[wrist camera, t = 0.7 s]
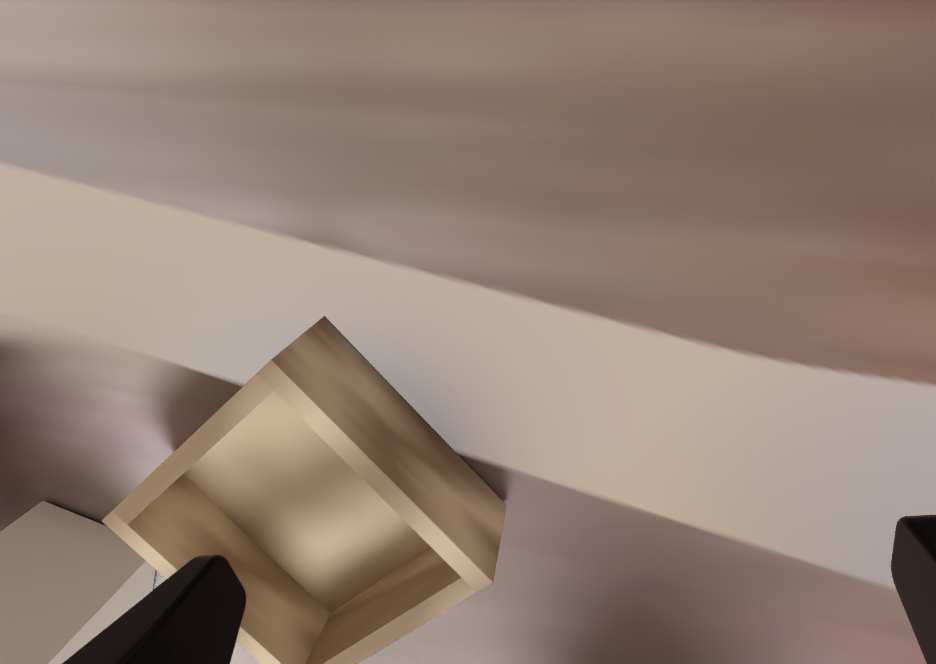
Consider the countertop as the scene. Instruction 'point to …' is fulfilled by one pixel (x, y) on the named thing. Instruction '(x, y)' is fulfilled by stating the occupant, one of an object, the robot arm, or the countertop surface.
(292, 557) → the beech crate
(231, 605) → the robot arm
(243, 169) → the countertop surface
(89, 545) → the grey tote
